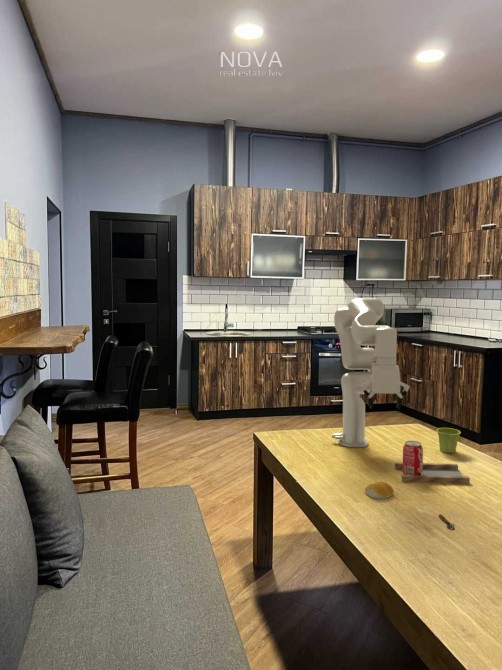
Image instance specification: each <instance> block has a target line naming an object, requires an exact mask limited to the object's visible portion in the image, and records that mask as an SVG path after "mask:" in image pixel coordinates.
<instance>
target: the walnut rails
mask: <svg viewBox="0 0 502 670" xmlns="http://www.w3.org/2000/svg"><path fill="white" fill-rule="evenodd" d="M394 469H395V470H403V462H394ZM423 469H441V470H459V464H458V463H439V462H438V463H437V462H436V463H433V462H432V463H431V462H430V463H429V462H423ZM401 482H402V483H423V484H424V483H426V484H427V483H429V484H430V483H431V484H463V485H464V484H471V483H470V482H471V481H470V477H469V476H468V475H467V476H464V475H463V476H429V475H423V474H422V475H405V474H402V475H401Z"/></svg>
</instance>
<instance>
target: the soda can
mask: <svg viewBox="0 0 502 670" xmlns="http://www.w3.org/2000/svg"><path fill="white" fill-rule="evenodd" d="M402 463H403V469H402V474H403V475H423V474H422V470H423V463H424V448H423V446H422V443H421V442H419V441H417V440H406V441H405V442H404V445H403V447H402Z"/></svg>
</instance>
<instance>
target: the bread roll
mask: <svg viewBox="0 0 502 670" xmlns="http://www.w3.org/2000/svg"><path fill="white" fill-rule="evenodd" d="M364 491H365V492H364V493H365V494H366V496H368V497H370V498H372V499H375V500H377V499H378V500H383V499H387V498H391V497H392V496H393V495H394V488H393V487H392V486H391V484H389V483H388V482H385V481H379V482H374V483H369V484H367V485H366V487H365V488H364Z"/></svg>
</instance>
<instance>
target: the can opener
mask: <svg viewBox="0 0 502 670" xmlns="http://www.w3.org/2000/svg"><path fill="white" fill-rule="evenodd" d="M438 518H439V519H440V520H441V521H442V522H444V523H445V525H446V528H447V530H450V531H454V530H455V529H456V528H455V524H451V523H450V521H448V519H446V517H445V516H444V515H442V514H438Z"/></svg>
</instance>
